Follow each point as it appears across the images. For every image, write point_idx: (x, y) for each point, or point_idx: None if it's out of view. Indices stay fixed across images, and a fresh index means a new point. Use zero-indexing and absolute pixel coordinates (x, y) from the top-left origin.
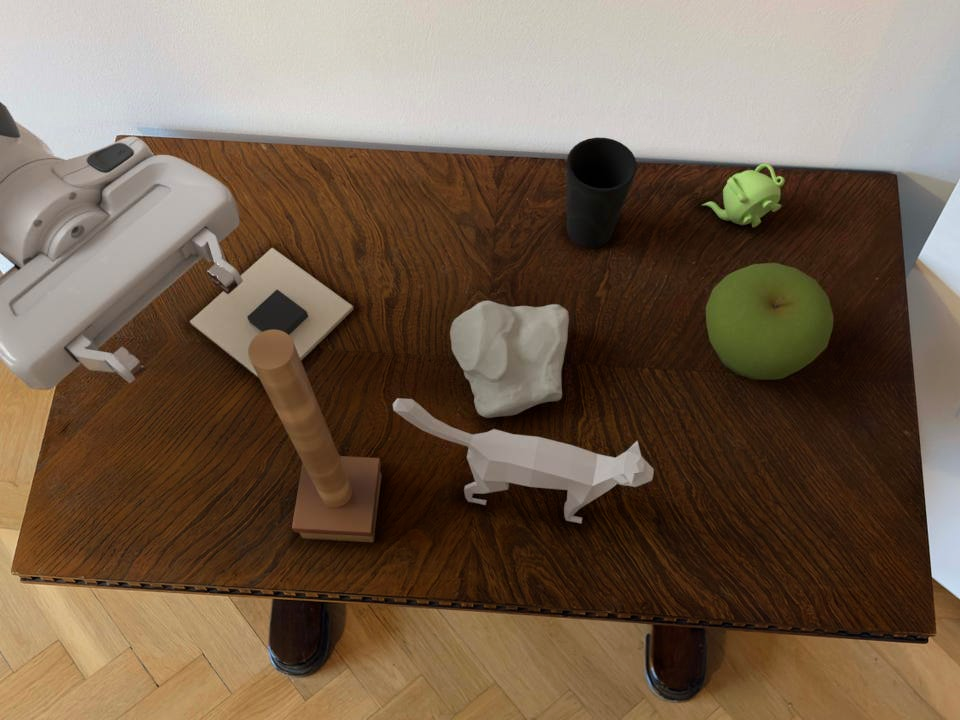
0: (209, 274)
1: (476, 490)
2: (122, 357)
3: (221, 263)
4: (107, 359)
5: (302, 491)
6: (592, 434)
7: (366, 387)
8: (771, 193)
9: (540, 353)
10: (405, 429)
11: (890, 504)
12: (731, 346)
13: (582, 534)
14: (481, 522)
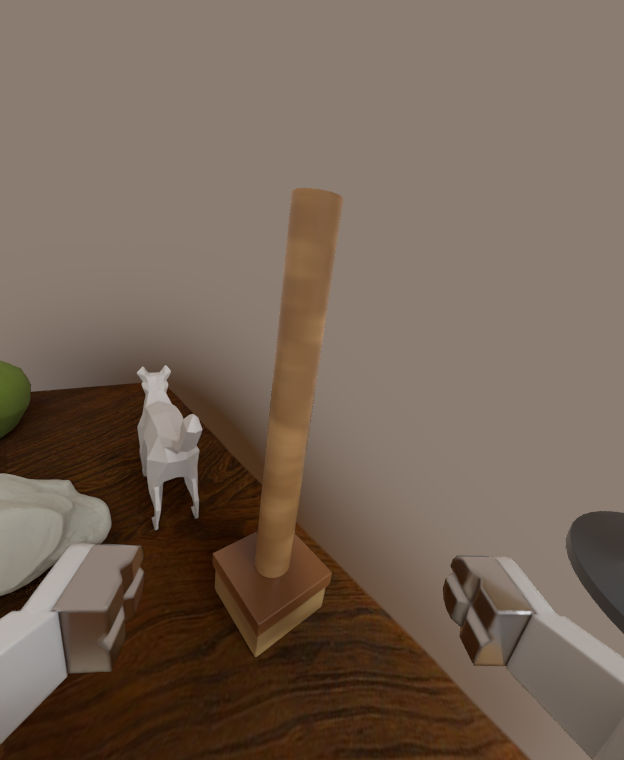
0: (110, 617)
1: (197, 485)
2: (500, 581)
3: (53, 591)
4: (550, 608)
5: (296, 591)
6: (94, 481)
7: (93, 699)
8: None
9: (25, 484)
10: (147, 604)
11: (100, 390)
12: (10, 390)
13: None
14: (210, 504)
